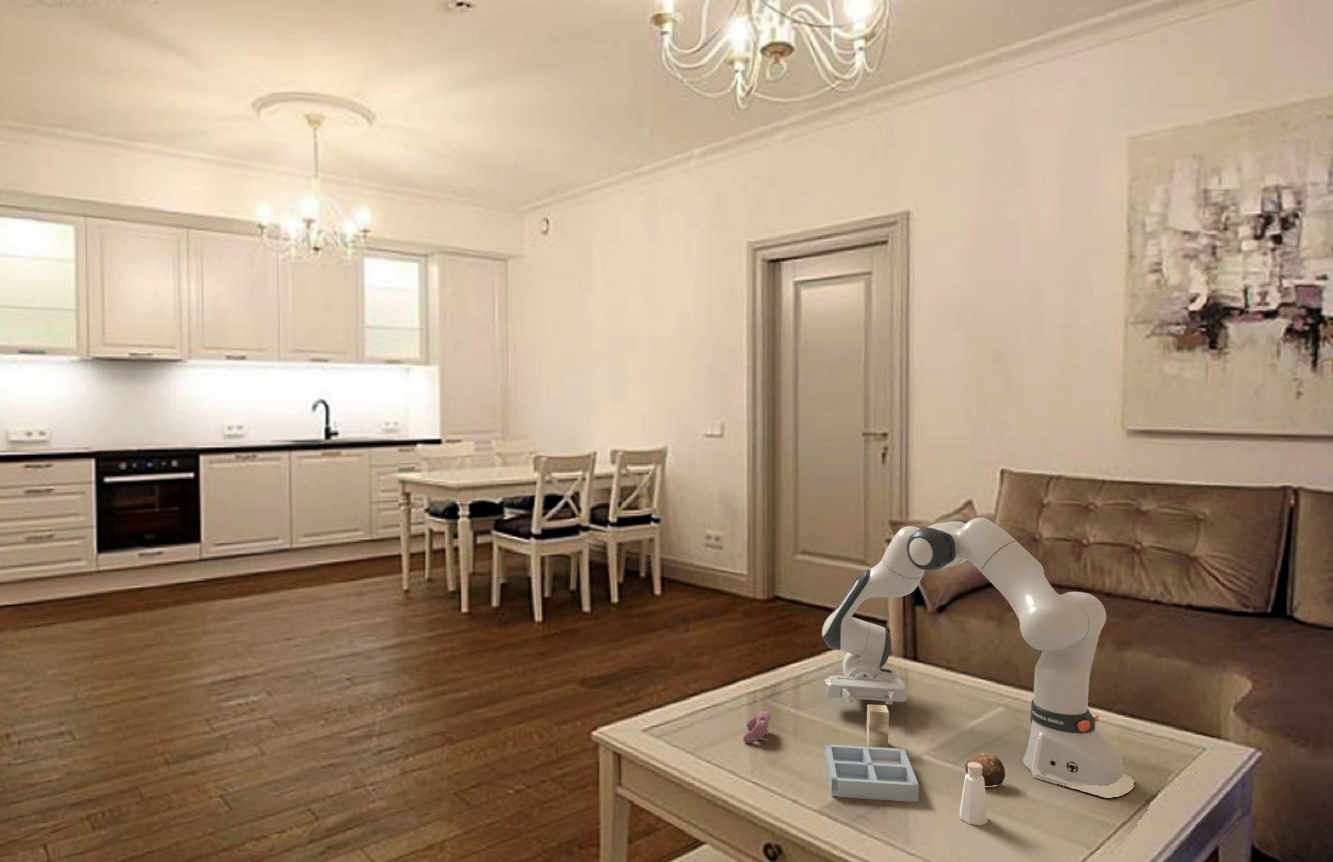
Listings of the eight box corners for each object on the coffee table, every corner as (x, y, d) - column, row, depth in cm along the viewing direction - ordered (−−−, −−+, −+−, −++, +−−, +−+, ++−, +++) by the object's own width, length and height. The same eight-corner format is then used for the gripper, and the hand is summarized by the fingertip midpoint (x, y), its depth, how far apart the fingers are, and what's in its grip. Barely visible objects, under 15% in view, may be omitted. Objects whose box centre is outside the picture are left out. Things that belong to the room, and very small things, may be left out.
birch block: (884, 742, 205) (886, 705, 205) (887, 750, 201) (888, 712, 200) (866, 741, 206) (867, 704, 205) (868, 748, 201) (869, 711, 201)
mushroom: (975, 754, 192) (980, 739, 188) (1008, 777, 187) (1014, 763, 183) (956, 779, 188) (960, 764, 184) (989, 803, 183) (995, 789, 179)
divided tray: (903, 764, 193) (904, 748, 193) (918, 802, 176) (919, 785, 176) (824, 759, 195) (825, 744, 195) (831, 796, 178) (831, 780, 178)
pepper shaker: (978, 811, 173) (981, 757, 172) (993, 824, 167) (995, 770, 167) (953, 812, 172) (955, 759, 171) (967, 826, 167) (969, 771, 166)
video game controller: (758, 752, 202) (772, 727, 201) (741, 741, 203) (755, 717, 202) (762, 735, 212) (775, 711, 211) (745, 725, 213) (758, 701, 212)
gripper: (824, 667, 230) (828, 685, 216) (902, 671, 227) (911, 690, 214) (823, 690, 230) (827, 710, 216) (901, 694, 228) (910, 715, 214)
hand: (869, 700), depth 215 cm, fingers open, 8 cm apart
